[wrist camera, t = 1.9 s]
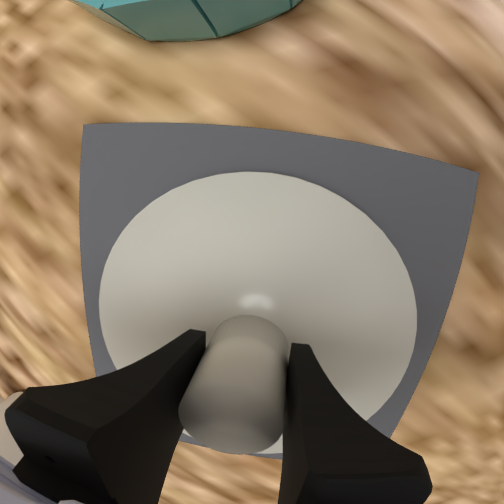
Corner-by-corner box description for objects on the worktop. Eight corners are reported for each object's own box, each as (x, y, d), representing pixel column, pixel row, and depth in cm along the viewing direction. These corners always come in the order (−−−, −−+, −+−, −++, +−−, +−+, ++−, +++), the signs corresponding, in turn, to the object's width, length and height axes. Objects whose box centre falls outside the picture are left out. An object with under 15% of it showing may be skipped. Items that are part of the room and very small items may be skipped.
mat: (472, 172, 10) (478, 172, 10) (373, 457, 15) (374, 463, 14) (89, 125, 12) (83, 124, 11) (109, 412, 16) (105, 417, 16)
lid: (442, 201, 10) (521, 230, 6) (359, 448, 14) (369, 523, 9) (109, 160, 12) (19, 167, 7) (124, 409, 15) (84, 471, 11)
